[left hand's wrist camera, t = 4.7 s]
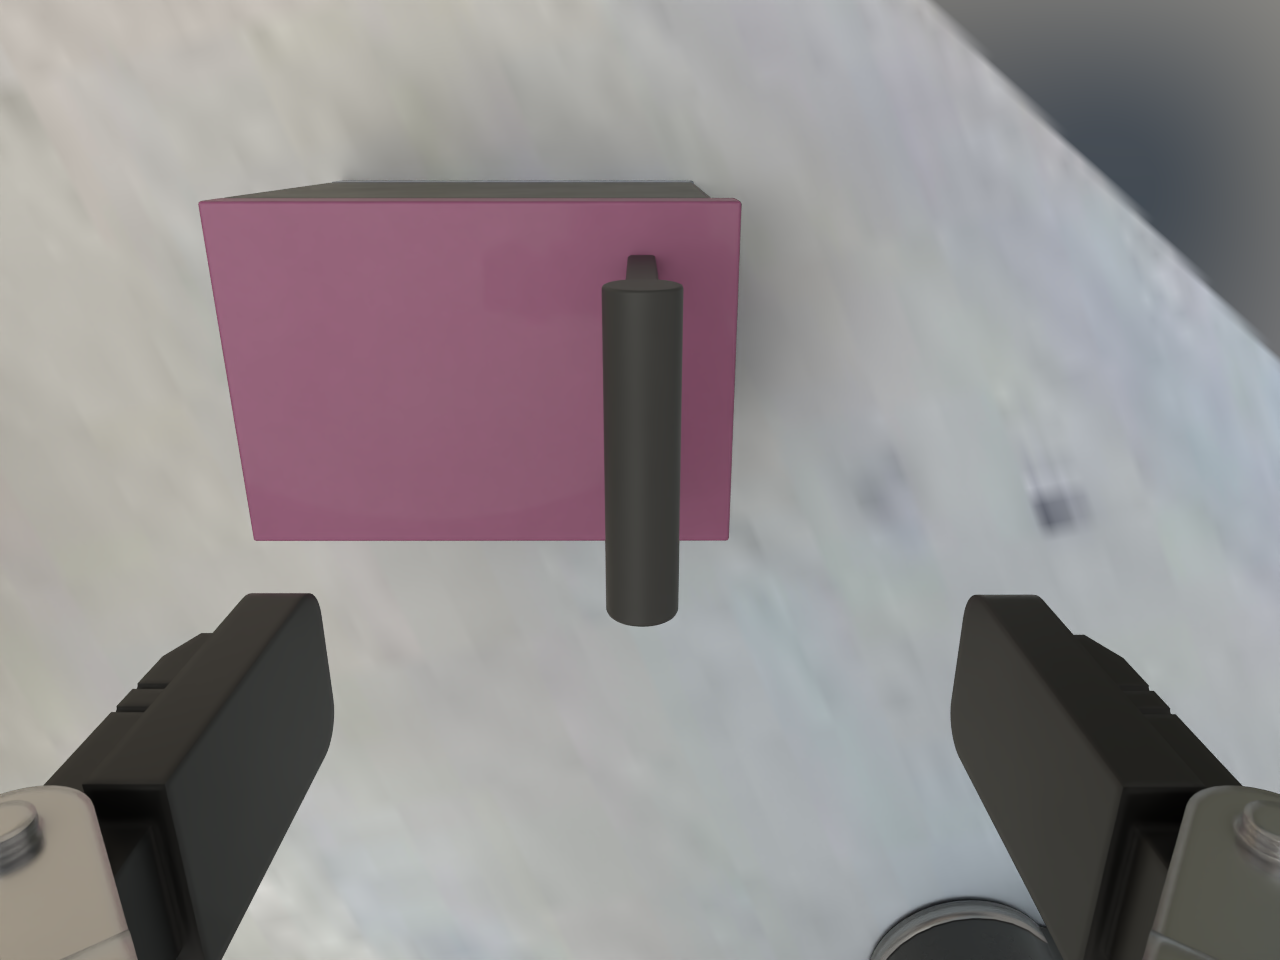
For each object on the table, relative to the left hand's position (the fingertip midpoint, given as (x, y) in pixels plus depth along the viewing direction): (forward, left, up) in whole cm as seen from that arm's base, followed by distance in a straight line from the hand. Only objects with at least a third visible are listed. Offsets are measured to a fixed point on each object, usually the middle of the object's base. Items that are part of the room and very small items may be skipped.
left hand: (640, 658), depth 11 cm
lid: (+4, 0, -15) cm, 15 cm away
